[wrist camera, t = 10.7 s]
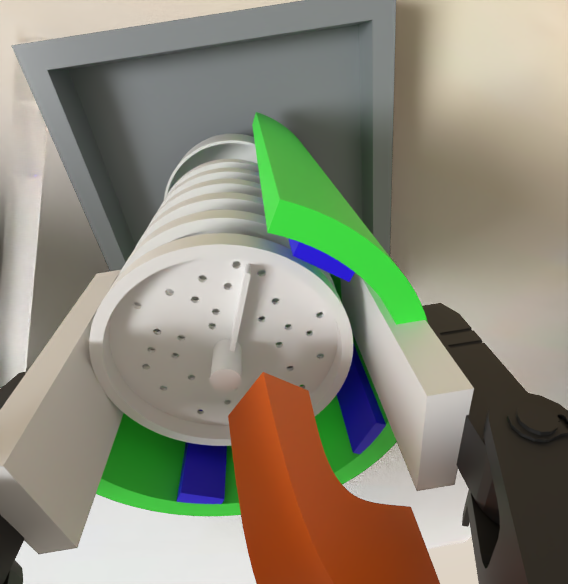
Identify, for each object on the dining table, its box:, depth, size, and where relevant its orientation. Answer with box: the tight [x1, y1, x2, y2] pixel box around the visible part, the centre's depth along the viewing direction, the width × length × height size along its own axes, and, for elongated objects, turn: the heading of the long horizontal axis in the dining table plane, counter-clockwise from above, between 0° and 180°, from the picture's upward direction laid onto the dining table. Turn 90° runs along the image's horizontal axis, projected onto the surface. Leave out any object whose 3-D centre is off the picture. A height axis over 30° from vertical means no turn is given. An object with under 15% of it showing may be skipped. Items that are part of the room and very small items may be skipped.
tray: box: [12, 0, 396, 271], centre depth 21 cm, size 16×16×3 cm
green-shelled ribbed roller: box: [89, 112, 440, 584], centre depth 13 cm, size 9×8×18 cm
